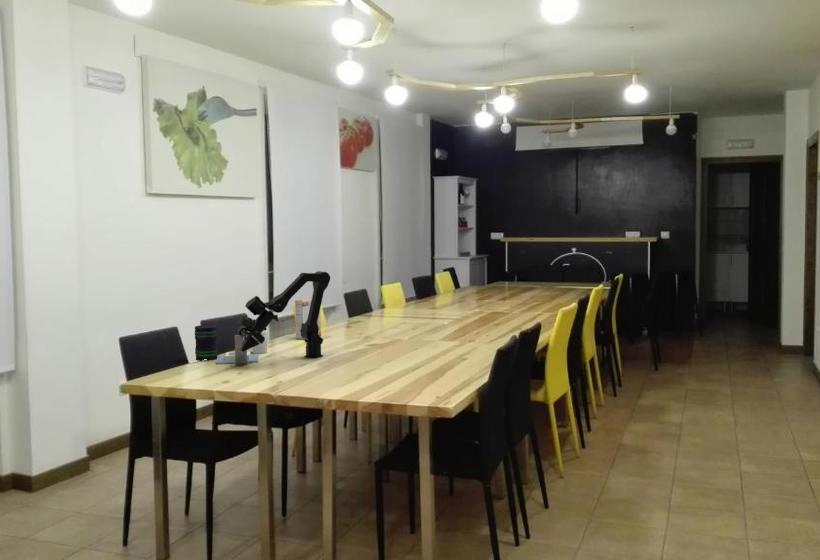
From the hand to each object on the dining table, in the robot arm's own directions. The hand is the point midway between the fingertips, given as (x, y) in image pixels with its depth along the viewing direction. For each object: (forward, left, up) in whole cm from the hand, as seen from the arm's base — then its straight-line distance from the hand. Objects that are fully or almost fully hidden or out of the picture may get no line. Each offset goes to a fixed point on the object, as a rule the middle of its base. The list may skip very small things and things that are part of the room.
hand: (238, 349), depth 318 cm
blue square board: (+11, -9, -7) cm, 16 cm away
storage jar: (+25, -3, -7) cm, 26 cm away
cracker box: (+28, -74, -7) cm, 79 cm away
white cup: (+17, -28, -7) cm, 33 cm away
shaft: (0, -1, -7) cm, 7 cm away
